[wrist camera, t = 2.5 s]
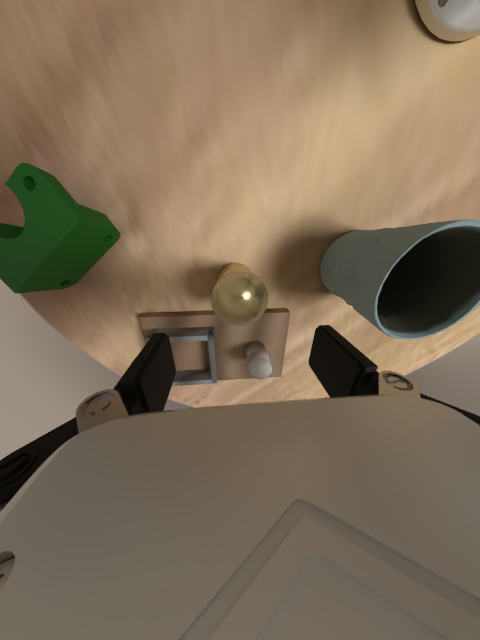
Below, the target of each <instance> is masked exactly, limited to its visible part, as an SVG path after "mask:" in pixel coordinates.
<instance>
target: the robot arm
mask: <svg viewBox="0 0 480 640" xmlns="http://www.w3.org/2000/svg"><path fill="white" fill-rule="evenodd" d="M415 3H416V6H417V9H418V11H419V14H420V16H421V19H422V21H423V22H424V24H425V25H426V26H427V28H428V29H429V31H430V32H431V33H433V34H434V35H436V36H437V37H439V38H440V39H443V40H447V41H451V42H452V41H463V40H467V39H469V38H472V37H475V36H477V35H479V34H480V0H415ZM309 365H310V367H311V369H312V370H313V372H314V373H315V375H316V376H317V378H318V379H319V381H320V382H321V384H322V385H323V387H324V389H325V390H326V392H327V393H328V395H329V396H330V398H316V399H302V400H289V401H275V402H262V403H249V404H237V405H225V406H213V407H200V408H188V409H177V410H167V411H163V409H164V407H165V404H166V401H167V398H168V395H169V392H170V389H171V386H172V384H173V381H174V378H175V375H176V367H175V362H174V358H173V353H172V348H171V344H170V339H169V336H168V335H166V334H165V333H154V334H153V335H152V336H151V338H150V339H149V341H148V342H147V343H146V345H145V346H144V348H143V349H142V350H141V352H140V353H139V355H138V356H137V357H136V358H135V360H134V361H133V362H132V364H131V365H130V366H129V368H128V369H127V371H126V372H125V373H124V375H123V376H122V378H121V379H120V381H119V382H118V383H117V385H116V386H115V388H114V389H106V390H102V391H99V392H96V393H94V394H93V395H91V396H89V397H88V398H86V399H85V400H84V401H83V402H82V403H81V404H80V405H79V406H78V408H77V410H76V417H75V418H73V419H72V420H70V421H68V422H66V423H64V424H63V425H61V426H59V427H57V428H55V429H54V430H52V431H50V432H48V433H47V434H45V435H43V436H41V437H39V438H38V439H36V440H34V441H32V442H30V443H29V444H27V445H25V446H23V447H22V448H20V449H18V450H16V451H14V452H13V453H11V454H9V455H8V456H6V457H5V458H3V459H2V460H0V640H480V416H477V415H475V414H472V413H470V412H467V411H465V410H462V409H459V408H457V407H454V406H452V405H449V404H446V403H444V402H441V401H439V400H436V399H434V398H431V397H428V396H425V395H423V394H420V393H419V389H418V387H417V385H416V384H415V383H414V382H413V381H412V380H410V379H409V378H407V377H405V376H404V375H401V374H399V373H396V372H392V371H381V372H380V373H378V372H377V371H376V370H377V368H378V366H377V365H375V364H374V363H373V362H372V361H371V360H370V359H368V358H367V357H366V356H365V355H364V354H363V353H361V352H360V351H359V350H358V349H357V348H355V347H354V346H353V345H352V344H351V343H350V342H348V341H347V340H346V339H345V338H344V337H343V336H341V335H340V334H339V333H338V332H337V331H336V330H334V329H333V328H332V327H331V326H329V325H321V326H319V327H318V328H316V330H315V335H314V339H313V344H312V348H311V353H310V358H309Z"/></svg>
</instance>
